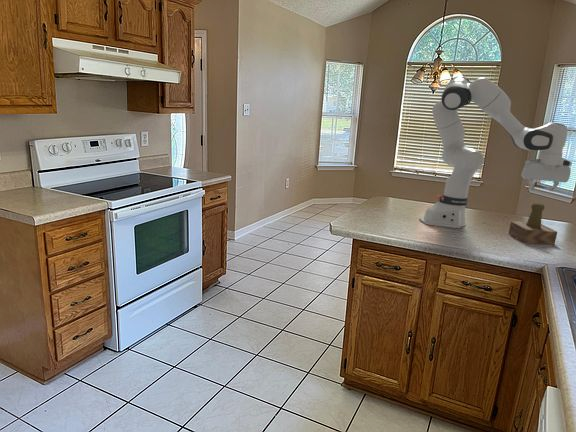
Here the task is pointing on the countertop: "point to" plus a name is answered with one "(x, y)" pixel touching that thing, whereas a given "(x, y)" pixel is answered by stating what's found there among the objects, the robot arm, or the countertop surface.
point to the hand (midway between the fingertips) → (541, 190)
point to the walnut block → (532, 233)
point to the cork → (535, 215)
